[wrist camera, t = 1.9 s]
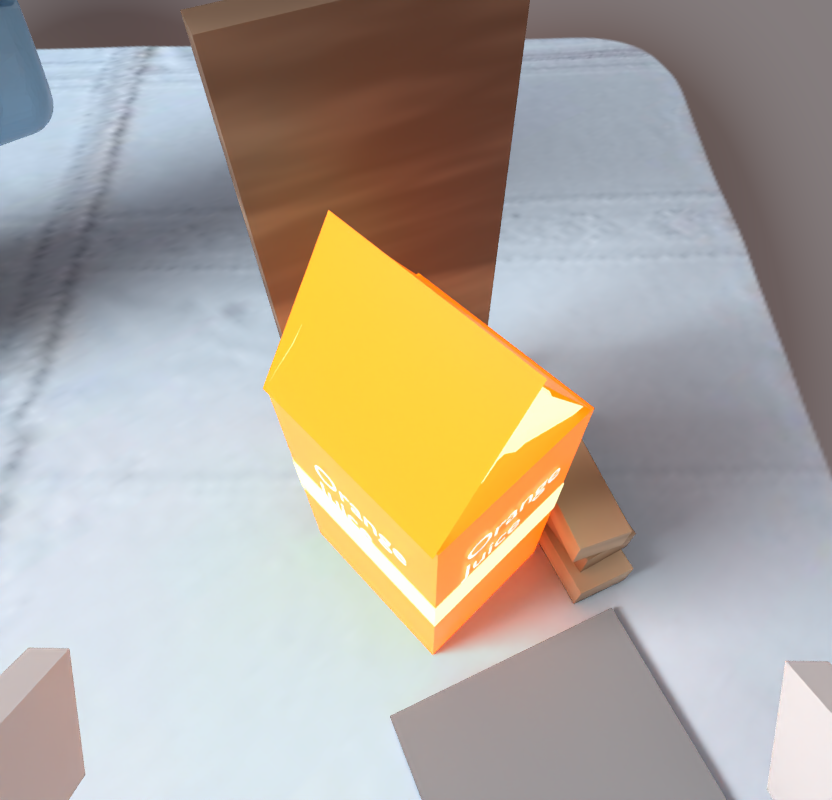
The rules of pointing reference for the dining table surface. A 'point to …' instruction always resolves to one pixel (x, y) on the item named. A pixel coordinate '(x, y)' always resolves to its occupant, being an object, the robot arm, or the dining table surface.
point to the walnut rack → (388, 169)
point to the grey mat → (556, 728)
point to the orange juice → (417, 433)
